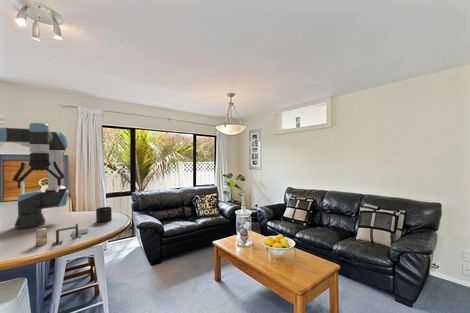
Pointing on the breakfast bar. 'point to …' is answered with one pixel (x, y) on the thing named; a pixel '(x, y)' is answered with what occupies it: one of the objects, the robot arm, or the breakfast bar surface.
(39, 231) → the beech peg
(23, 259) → the breakfast bar surface
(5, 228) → the breakfast bar surface
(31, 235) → the breakfast bar surface
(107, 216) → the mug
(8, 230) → the breakfast bar surface
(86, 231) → the coaster
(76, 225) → the wire
